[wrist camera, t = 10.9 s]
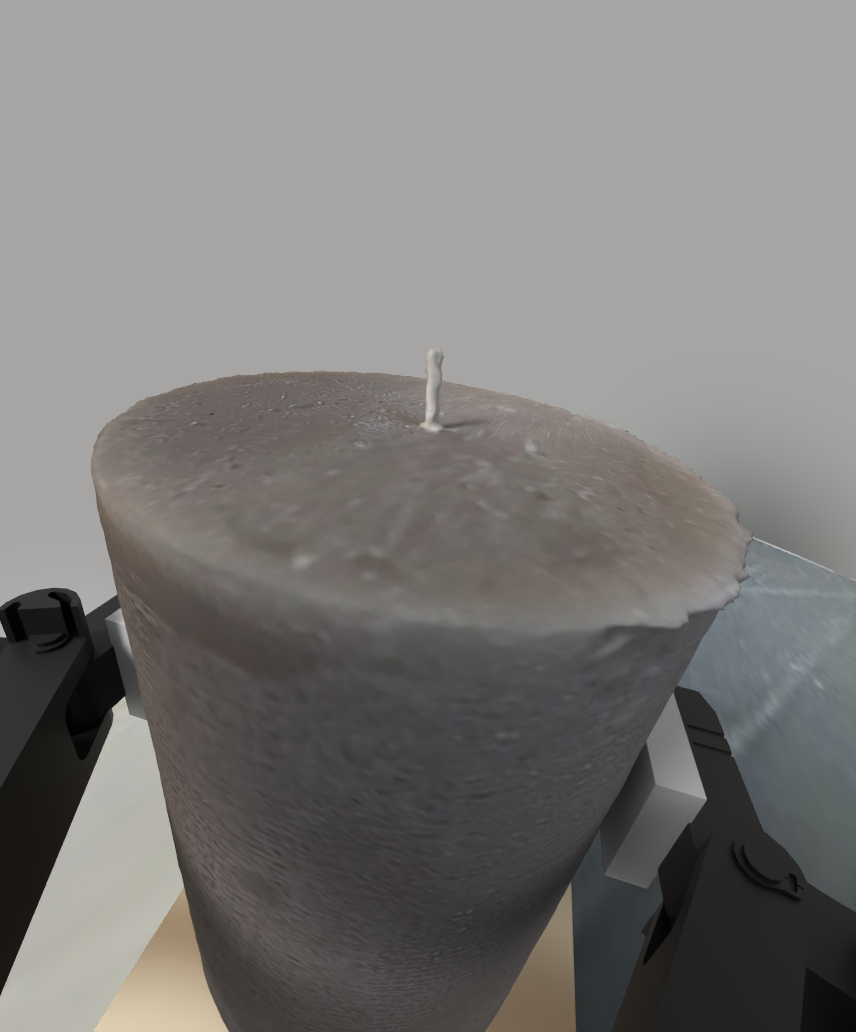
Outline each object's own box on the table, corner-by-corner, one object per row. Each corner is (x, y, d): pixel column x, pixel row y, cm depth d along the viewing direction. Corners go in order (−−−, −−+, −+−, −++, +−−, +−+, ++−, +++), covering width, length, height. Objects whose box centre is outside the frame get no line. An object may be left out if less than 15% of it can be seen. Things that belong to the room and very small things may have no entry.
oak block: (286, 792, 28) (284, 728, 26) (541, 880, 26) (569, 819, 23) (24, 1274, 14) (-43, 1246, 11) (529, 1582, 12) (596, 1639, 9)
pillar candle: (158, 821, 14) (13, 288, 7) (404, 682, 20) (457, 320, 13) (301, 1303, 8) (273, 798, 1) (595, 892, 14) (888, 415, 7)
